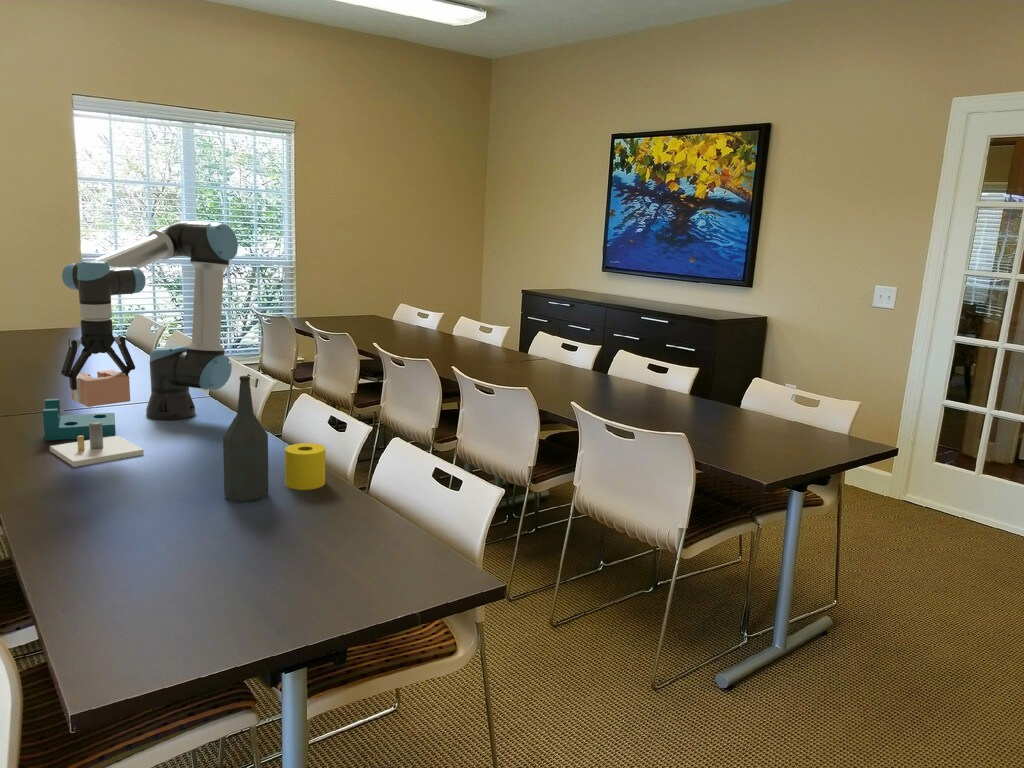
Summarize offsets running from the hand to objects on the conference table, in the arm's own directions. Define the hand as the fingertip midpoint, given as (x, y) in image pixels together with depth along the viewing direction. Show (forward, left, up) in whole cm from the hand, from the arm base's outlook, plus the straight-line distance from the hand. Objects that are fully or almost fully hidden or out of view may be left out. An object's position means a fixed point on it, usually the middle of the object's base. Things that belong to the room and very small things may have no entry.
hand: (100, 398), depth 211 cm
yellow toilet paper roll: (-29, +56, -16) cm, 65 cm away
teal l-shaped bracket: (-2, -22, -16) cm, 27 cm away
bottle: (-13, +55, -16) cm, 58 cm away
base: (+1, -1, -16) cm, 16 cm away
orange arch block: (0, 0, -1) cm, 1 cm away
